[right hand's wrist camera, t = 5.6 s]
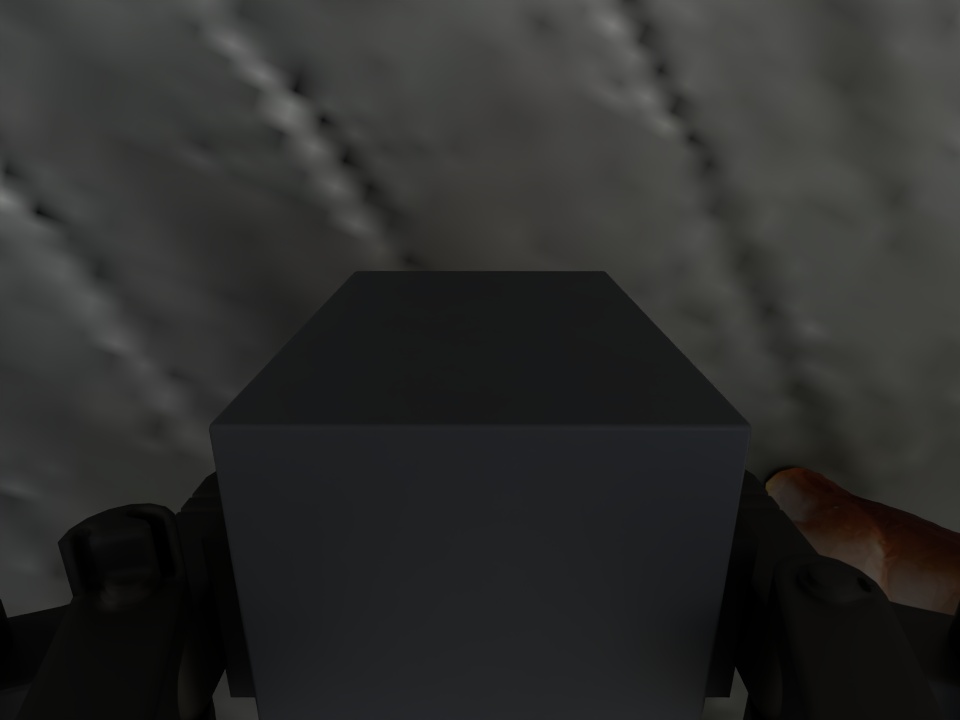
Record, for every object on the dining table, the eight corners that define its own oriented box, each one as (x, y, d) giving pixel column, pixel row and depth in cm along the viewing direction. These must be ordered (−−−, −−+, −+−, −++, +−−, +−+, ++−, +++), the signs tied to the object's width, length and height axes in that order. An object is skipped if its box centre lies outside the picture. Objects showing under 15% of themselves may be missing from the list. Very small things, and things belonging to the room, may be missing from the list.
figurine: (713, 548, 28) (958, 972, 13) (793, 404, 25) (1194, 738, 11) (833, 582, 28) (1184, 1020, 14) (922, 445, 26) (1455, 810, 12)
